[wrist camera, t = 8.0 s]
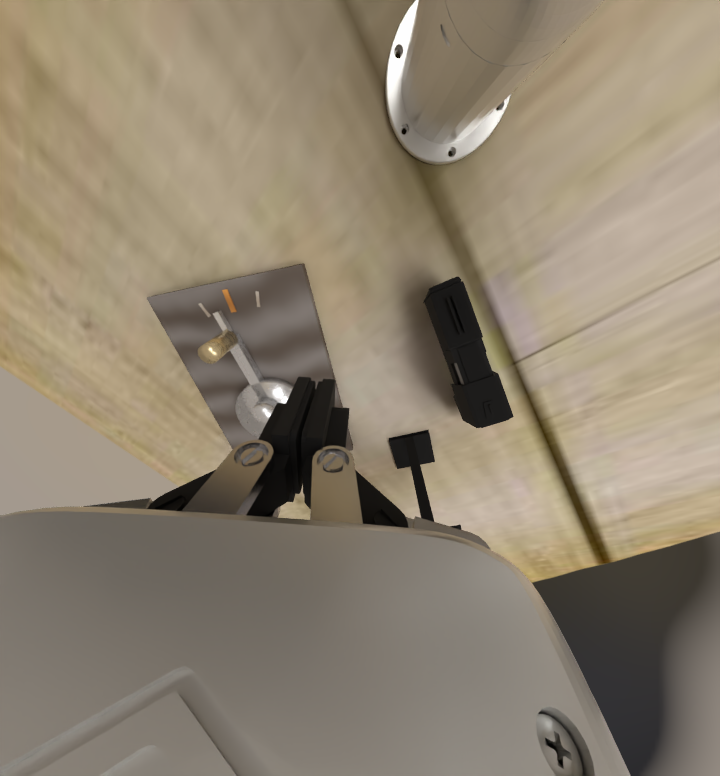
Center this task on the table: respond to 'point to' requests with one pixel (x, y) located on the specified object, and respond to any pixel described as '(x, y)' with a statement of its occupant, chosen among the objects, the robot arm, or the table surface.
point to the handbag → (415, 464)
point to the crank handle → (260, 391)
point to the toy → (466, 355)
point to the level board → (248, 336)
